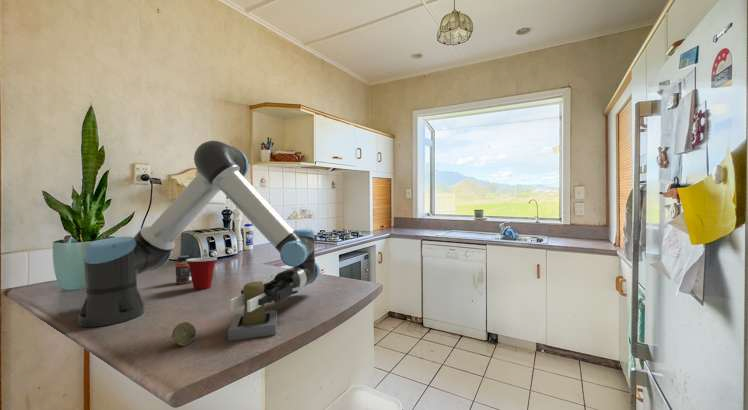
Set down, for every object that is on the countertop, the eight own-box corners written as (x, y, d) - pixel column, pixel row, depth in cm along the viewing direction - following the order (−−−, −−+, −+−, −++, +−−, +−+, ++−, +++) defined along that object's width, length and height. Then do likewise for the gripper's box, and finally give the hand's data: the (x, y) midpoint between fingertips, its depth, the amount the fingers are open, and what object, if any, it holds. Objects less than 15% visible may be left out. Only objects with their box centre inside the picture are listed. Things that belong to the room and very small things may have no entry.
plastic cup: (224, 284, 127) (223, 255, 127) (206, 292, 116) (205, 260, 116) (200, 283, 129) (199, 255, 128) (180, 291, 118) (179, 260, 118)
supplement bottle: (195, 281, 132) (194, 255, 132) (180, 285, 127) (179, 258, 127) (188, 280, 135) (187, 254, 135) (173, 283, 130) (172, 256, 130)
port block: (228, 340, 75) (228, 330, 75) (235, 323, 85) (235, 314, 85) (275, 334, 78) (275, 324, 78) (277, 318, 88) (276, 310, 88)
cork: (246, 320, 84) (245, 280, 84) (269, 318, 85) (268, 279, 85) (238, 329, 78) (237, 286, 78) (263, 328, 79) (262, 285, 79)
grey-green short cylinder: (197, 338, 77) (197, 318, 77) (188, 347, 72) (187, 326, 72) (178, 340, 76) (178, 319, 76) (168, 349, 71) (167, 327, 71)
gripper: (314, 294, 97) (270, 323, 74) (266, 291, 101) (211, 318, 79) (314, 270, 97) (270, 292, 74) (266, 268, 101) (210, 288, 79)
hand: (240, 305), depth 76 cm, fingers closed on cork, 4 cm apart
